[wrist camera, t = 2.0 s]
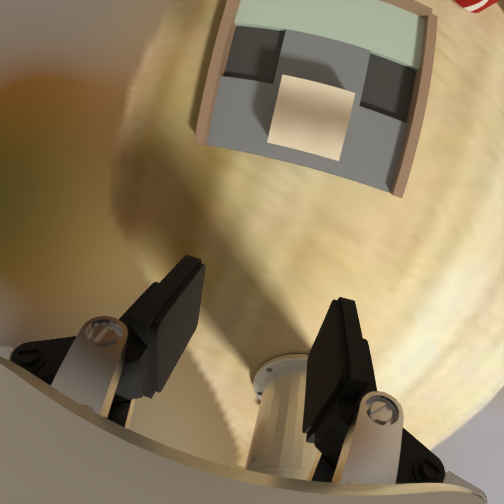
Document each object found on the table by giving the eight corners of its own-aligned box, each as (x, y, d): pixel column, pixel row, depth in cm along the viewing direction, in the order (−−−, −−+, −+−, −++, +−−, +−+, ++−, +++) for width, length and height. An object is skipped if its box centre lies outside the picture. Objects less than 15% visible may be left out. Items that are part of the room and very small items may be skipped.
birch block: (335, 158, 24) (338, 161, 22) (271, 141, 25) (266, 142, 22) (349, 97, 22) (355, 93, 19) (285, 81, 22) (282, 74, 20)
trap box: (396, 193, 25) (405, 200, 23) (200, 142, 27) (189, 143, 24) (430, 22, 17) (441, 13, 14) (242, -25, 19) (235, -38, 16)
